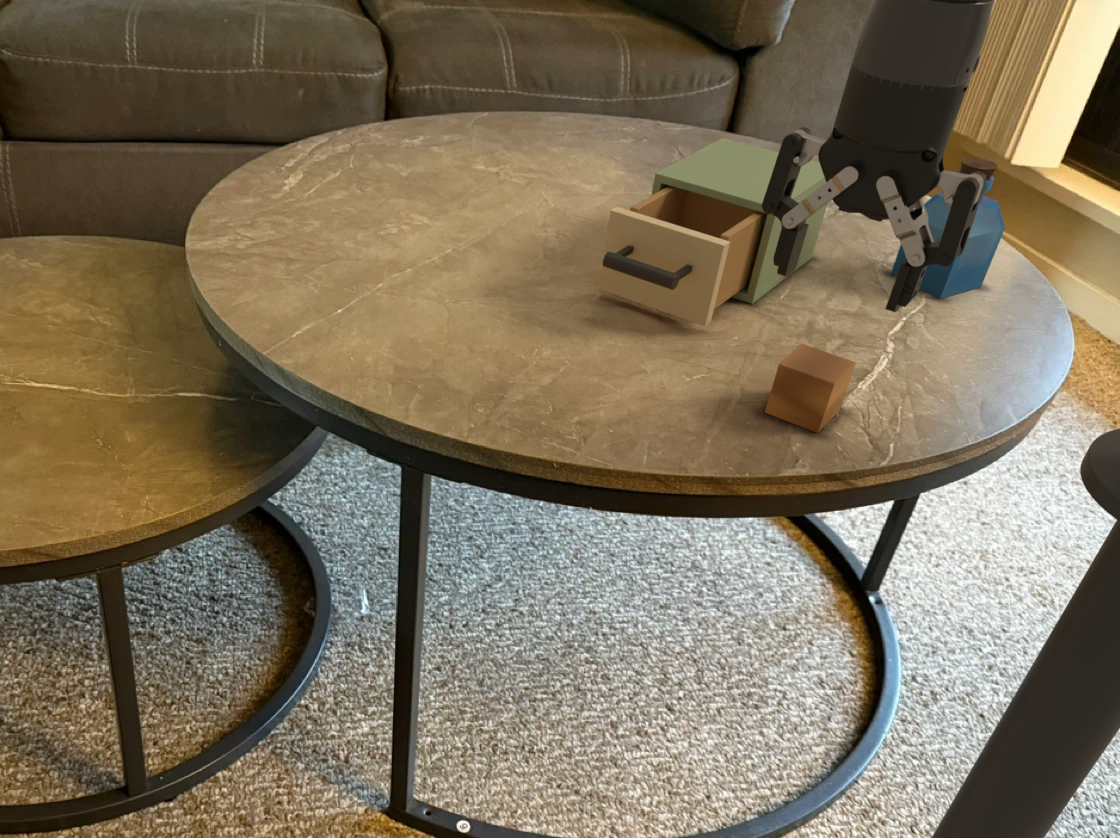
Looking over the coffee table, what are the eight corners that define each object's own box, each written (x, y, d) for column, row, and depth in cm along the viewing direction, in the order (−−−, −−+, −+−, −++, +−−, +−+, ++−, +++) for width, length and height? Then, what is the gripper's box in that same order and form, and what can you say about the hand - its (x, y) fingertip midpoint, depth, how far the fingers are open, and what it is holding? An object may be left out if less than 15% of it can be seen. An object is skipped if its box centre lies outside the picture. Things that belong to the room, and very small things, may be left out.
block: (839, 411, 88) (856, 362, 85) (817, 433, 85) (834, 383, 82) (787, 391, 90) (801, 343, 87) (764, 412, 87) (778, 363, 84)
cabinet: (752, 304, 102) (777, 208, 96) (637, 265, 108) (655, 173, 102) (811, 258, 111) (838, 167, 105) (703, 225, 117) (722, 137, 111)
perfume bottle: (940, 298, 105) (986, 179, 97) (890, 274, 109) (931, 157, 101) (981, 286, 107) (1029, 169, 100) (930, 263, 111) (973, 148, 104)
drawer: (683, 343, 94) (702, 260, 89) (574, 303, 99) (586, 223, 94) (767, 279, 105) (788, 203, 100) (664, 246, 110) (679, 172, 105)
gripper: (788, 53, 71) (731, 276, 82) (1008, 101, 65) (916, 338, 75) (830, 34, 76) (771, 248, 86) (1040, 77, 69) (949, 303, 80)
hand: (838, 289), depth 81 cm, fingers open, 8 cm apart
